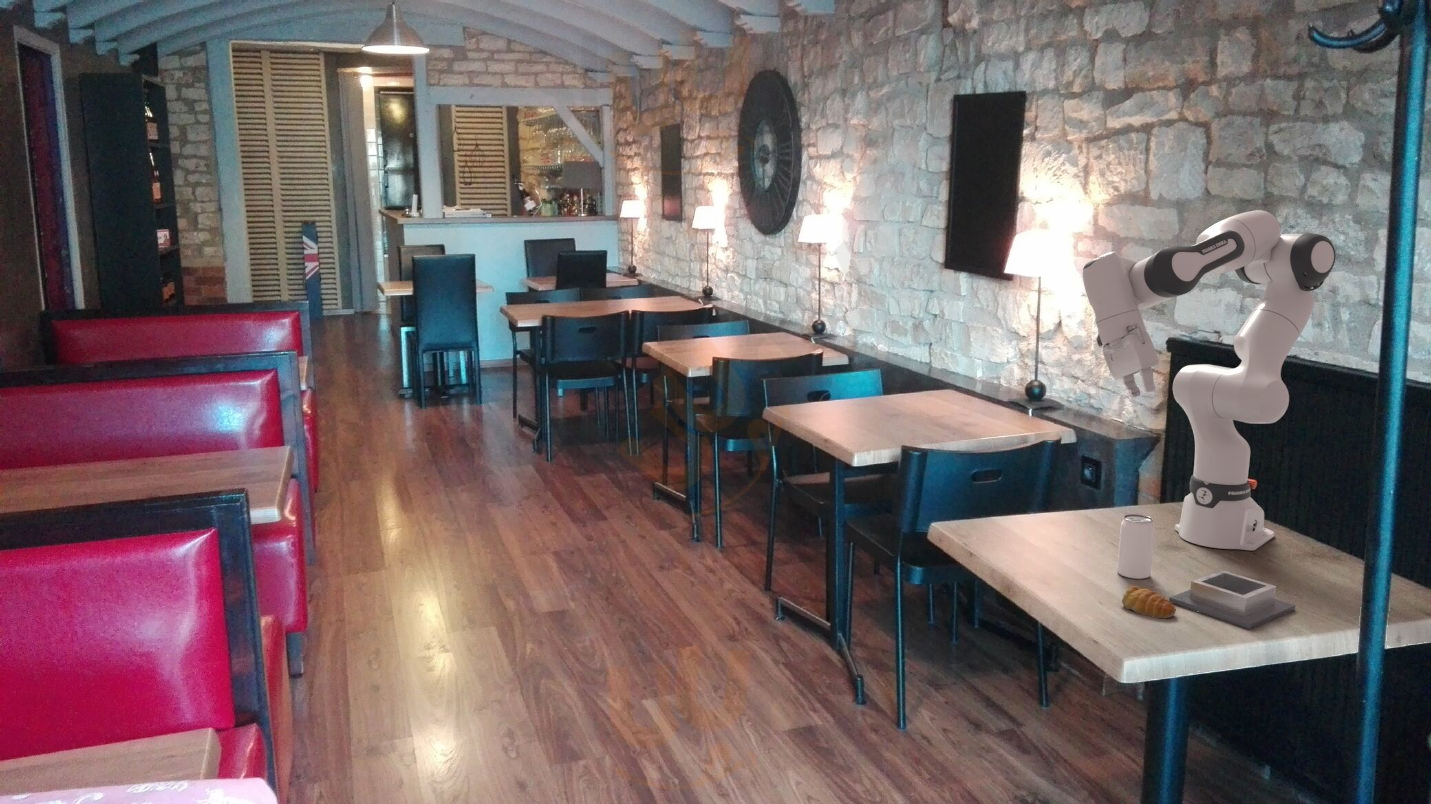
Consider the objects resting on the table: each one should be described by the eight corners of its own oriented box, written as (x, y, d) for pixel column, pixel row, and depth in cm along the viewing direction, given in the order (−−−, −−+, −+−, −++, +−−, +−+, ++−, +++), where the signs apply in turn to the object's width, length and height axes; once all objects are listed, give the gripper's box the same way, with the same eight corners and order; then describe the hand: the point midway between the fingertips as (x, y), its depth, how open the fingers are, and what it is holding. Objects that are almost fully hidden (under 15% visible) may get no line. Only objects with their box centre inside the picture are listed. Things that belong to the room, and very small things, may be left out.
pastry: (1182, 615, 208) (1184, 596, 208) (1162, 624, 204) (1164, 604, 204) (1137, 600, 216) (1138, 581, 215) (1117, 608, 212) (1118, 589, 211)
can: (1152, 581, 225) (1158, 524, 223) (1119, 578, 226) (1124, 521, 224) (1147, 570, 231) (1152, 514, 229) (1114, 567, 233) (1119, 512, 230)
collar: (1214, 585, 223) (1217, 563, 222) (1294, 610, 211) (1297, 587, 210) (1168, 602, 214) (1170, 580, 213) (1249, 629, 201) (1252, 606, 200)
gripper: (1153, 317, 220) (1175, 384, 218) (1122, 333, 240) (1142, 395, 239) (1122, 325, 220) (1144, 393, 219) (1093, 341, 240) (1113, 403, 239)
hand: (1143, 394), depth 229 cm, fingers open, 8 cm apart
